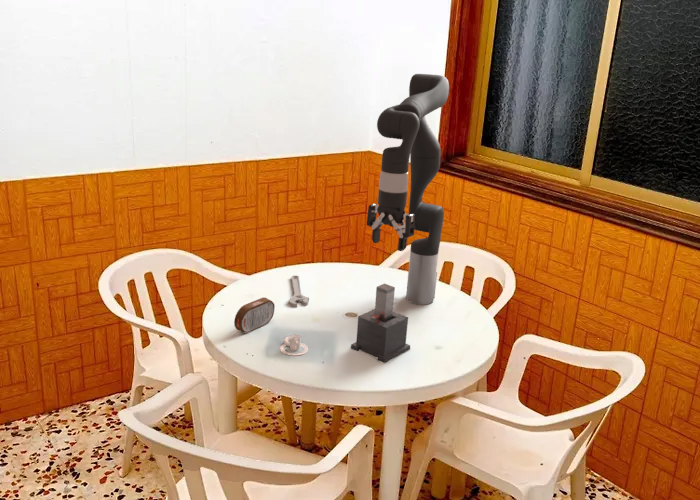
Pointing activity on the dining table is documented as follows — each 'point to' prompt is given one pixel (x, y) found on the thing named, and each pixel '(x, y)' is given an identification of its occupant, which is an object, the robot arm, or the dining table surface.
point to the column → (384, 302)
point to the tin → (254, 315)
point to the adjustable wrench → (297, 294)
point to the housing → (381, 336)
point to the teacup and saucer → (293, 345)
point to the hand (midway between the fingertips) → (388, 246)
